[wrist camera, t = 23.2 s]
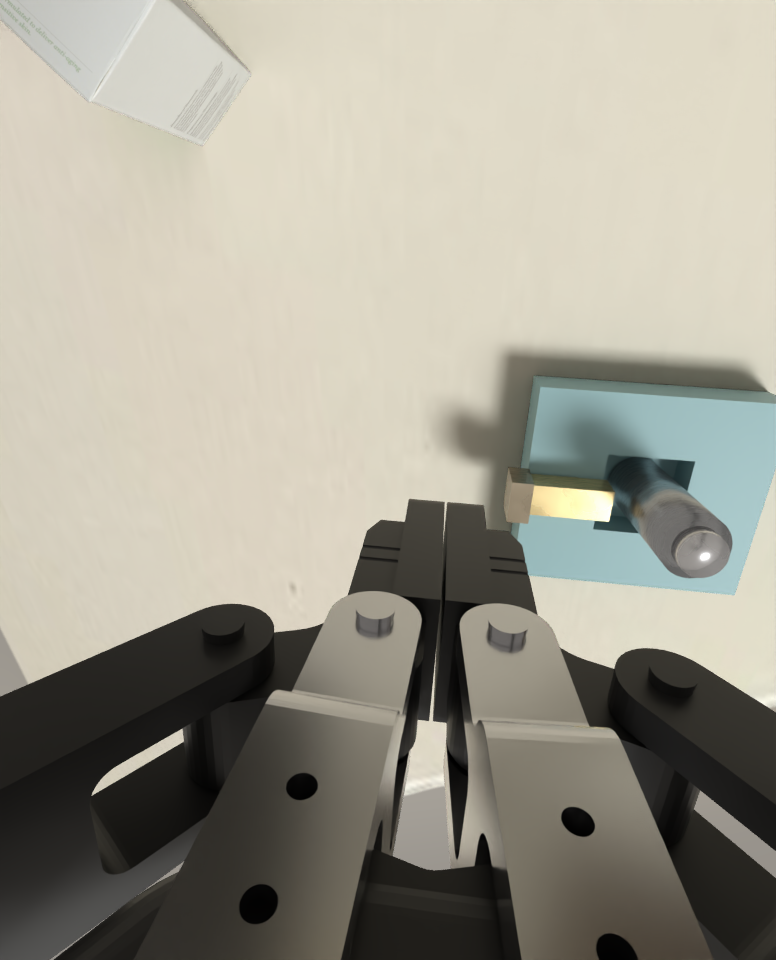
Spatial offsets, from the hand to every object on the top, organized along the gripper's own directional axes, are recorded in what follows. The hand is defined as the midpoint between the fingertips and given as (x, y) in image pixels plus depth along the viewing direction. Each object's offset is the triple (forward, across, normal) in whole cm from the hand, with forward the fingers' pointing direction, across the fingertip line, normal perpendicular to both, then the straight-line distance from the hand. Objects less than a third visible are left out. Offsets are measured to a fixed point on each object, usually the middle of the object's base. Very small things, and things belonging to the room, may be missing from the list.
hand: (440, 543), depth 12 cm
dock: (+37, -16, +12) cm, 42 cm away
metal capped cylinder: (+36, -16, +12) cm, 41 cm away
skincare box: (+37, +20, -16) cm, 45 cm away
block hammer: (+33, -10, +12) cm, 36 cm away
